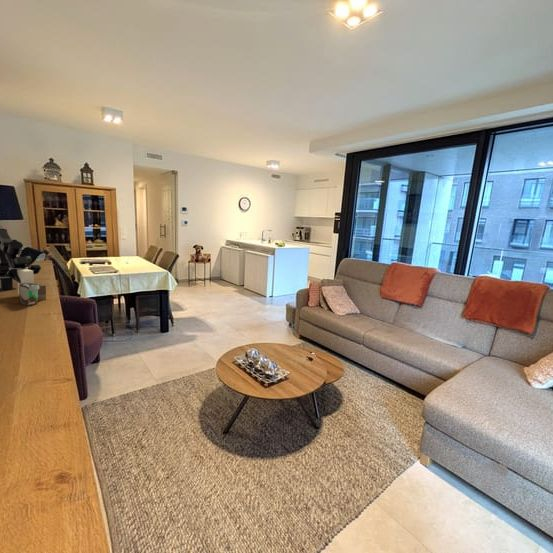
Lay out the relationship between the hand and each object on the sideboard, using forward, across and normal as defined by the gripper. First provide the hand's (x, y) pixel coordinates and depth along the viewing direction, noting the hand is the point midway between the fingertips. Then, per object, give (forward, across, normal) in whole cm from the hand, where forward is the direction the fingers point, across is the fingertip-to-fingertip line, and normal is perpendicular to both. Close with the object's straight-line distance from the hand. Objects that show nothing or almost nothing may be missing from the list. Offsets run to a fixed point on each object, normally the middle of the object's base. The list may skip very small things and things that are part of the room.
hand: (25, 282), depth 164 cm
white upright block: (+5, 0, +5) cm, 7 cm away
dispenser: (+13, -1, -2) cm, 13 cm away
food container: (+18, -4, -6) cm, 19 cm away
